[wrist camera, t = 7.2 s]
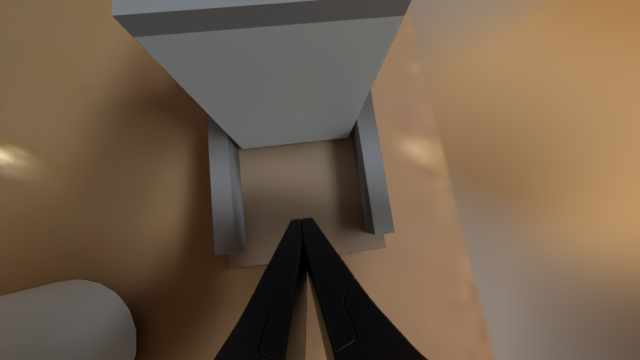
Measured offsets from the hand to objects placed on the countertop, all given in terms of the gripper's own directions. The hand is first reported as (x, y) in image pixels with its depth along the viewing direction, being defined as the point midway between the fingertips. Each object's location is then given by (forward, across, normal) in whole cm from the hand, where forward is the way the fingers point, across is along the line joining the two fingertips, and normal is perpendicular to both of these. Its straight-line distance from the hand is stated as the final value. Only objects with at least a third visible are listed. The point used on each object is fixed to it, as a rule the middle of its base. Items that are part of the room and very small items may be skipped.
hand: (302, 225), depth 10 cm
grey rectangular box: (+8, 0, -3) cm, 9 cm away
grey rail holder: (+9, 0, 0) cm, 9 cm away
